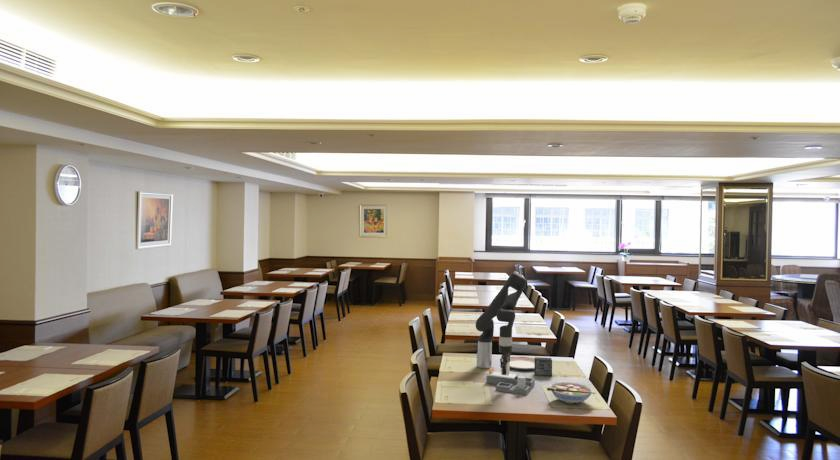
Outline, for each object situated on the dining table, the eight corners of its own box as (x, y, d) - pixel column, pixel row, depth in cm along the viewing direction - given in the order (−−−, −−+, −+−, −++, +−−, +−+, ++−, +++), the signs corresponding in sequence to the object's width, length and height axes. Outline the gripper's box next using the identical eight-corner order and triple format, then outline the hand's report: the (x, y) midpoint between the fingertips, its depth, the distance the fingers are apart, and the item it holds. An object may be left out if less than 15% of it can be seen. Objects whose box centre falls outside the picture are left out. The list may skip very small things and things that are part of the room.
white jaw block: (500, 374, 311) (501, 362, 311) (502, 373, 315) (502, 361, 315) (507, 375, 310) (507, 363, 310) (509, 374, 313) (509, 362, 313)
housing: (480, 388, 314) (480, 373, 314) (490, 379, 333) (490, 365, 332) (526, 394, 303) (527, 379, 303) (534, 385, 321) (534, 371, 321)
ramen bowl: (592, 397, 301) (593, 382, 301) (596, 411, 279) (596, 395, 279) (546, 393, 307) (547, 378, 307) (546, 406, 285) (547, 391, 285)
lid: (487, 375, 325) (487, 369, 325) (491, 372, 332) (491, 366, 332) (513, 379, 318) (513, 373, 318) (517, 375, 325) (517, 369, 325)
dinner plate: (543, 373, 348) (543, 368, 348) (500, 370, 353) (500, 365, 353) (542, 362, 374) (542, 357, 374) (502, 359, 380) (502, 355, 380)
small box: (550, 373, 347) (551, 357, 347) (552, 376, 340) (552, 360, 340) (534, 372, 348) (534, 356, 348) (535, 375, 341) (535, 359, 341)
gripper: (502, 341, 320) (502, 369, 320) (495, 345, 307) (495, 375, 307) (515, 342, 317) (514, 371, 317) (508, 347, 304) (508, 377, 304)
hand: (505, 373), depth 312 cm, fingers closed on white jaw block, 4 cm apart
